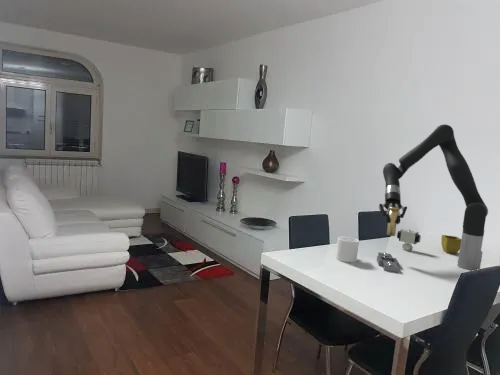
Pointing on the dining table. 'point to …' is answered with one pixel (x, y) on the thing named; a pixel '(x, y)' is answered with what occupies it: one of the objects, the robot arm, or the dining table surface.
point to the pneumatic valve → (408, 238)
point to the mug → (347, 249)
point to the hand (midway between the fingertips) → (393, 222)
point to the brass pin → (392, 220)
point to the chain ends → (388, 262)
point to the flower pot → (450, 244)
